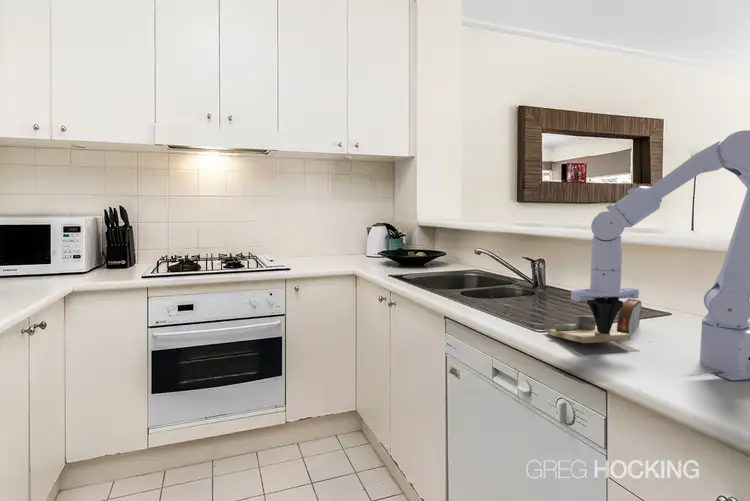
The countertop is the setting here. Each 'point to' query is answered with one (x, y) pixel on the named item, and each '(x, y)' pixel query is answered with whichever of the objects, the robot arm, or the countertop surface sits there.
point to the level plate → (586, 332)
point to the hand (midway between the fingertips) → (603, 332)
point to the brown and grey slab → (629, 316)
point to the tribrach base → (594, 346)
